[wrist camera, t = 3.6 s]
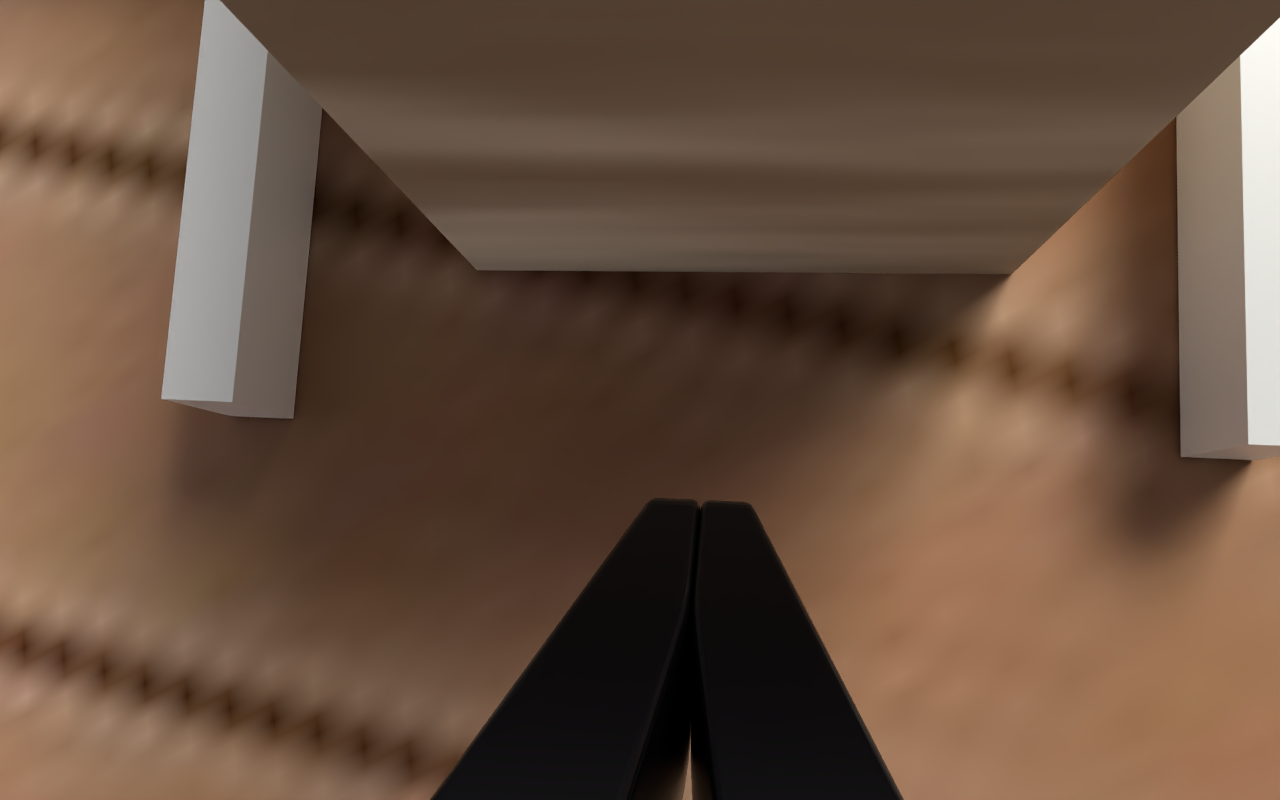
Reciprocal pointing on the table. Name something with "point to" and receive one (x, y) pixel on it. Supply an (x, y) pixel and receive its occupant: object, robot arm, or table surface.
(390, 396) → the table surface
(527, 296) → the table surface
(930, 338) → the table surface
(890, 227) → the birch block
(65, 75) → the table surface
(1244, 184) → the low angular wall frame
